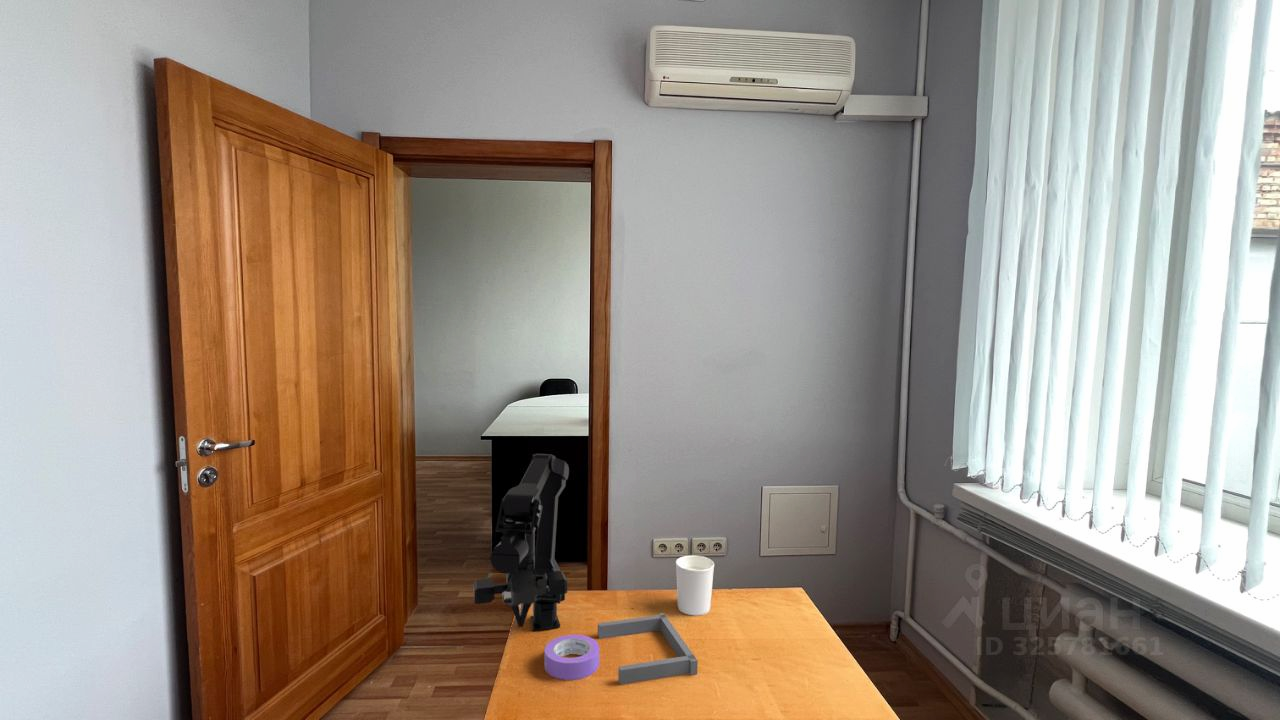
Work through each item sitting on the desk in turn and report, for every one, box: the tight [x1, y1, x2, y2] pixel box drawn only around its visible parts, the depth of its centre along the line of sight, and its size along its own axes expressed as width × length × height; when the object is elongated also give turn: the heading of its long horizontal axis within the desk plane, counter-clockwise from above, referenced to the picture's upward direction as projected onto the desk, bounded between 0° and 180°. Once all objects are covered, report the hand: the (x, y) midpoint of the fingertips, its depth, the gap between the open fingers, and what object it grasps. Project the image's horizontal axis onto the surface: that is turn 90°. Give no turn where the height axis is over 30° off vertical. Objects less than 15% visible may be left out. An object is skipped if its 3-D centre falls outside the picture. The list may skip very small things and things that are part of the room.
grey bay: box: [597, 612, 699, 686], centre depth 136 cm, size 22×16×3 cm
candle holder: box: [675, 555, 715, 616], centre depth 158 cm, size 10×10×12 cm
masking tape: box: [544, 634, 600, 681], centre depth 132 cm, size 12×12×4 cm
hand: (520, 626), depth 128 cm, fingers closed
